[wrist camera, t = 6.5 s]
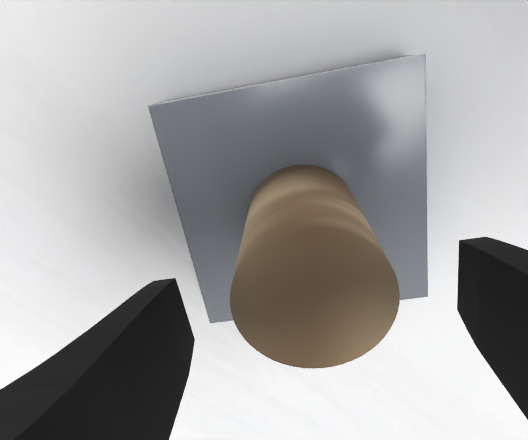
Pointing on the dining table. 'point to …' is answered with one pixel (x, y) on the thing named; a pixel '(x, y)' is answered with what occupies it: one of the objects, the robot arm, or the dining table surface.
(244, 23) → the dining table surface
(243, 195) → the plate
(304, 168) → the oak cylinder
